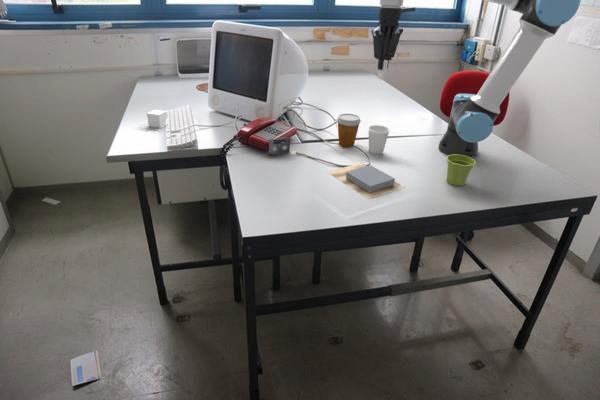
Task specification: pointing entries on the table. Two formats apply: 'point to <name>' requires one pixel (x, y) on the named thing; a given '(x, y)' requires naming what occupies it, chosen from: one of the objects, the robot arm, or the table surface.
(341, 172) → the board
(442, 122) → the table surface
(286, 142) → the mini dv tape
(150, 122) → the adhesive note
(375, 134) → the dixie cup
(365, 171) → the tile
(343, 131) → the disposable coffee cup
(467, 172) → the plant pot
